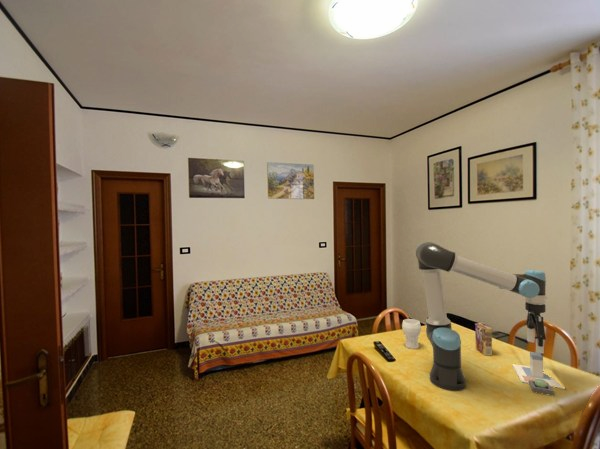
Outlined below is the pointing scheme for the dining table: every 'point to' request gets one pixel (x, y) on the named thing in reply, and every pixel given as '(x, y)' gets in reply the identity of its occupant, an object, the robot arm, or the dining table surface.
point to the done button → (540, 383)
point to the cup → (411, 332)
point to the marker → (536, 364)
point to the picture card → (526, 376)
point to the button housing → (541, 390)
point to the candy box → (483, 339)
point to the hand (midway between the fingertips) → (535, 347)
